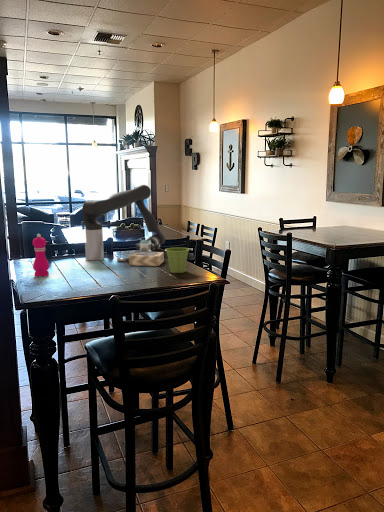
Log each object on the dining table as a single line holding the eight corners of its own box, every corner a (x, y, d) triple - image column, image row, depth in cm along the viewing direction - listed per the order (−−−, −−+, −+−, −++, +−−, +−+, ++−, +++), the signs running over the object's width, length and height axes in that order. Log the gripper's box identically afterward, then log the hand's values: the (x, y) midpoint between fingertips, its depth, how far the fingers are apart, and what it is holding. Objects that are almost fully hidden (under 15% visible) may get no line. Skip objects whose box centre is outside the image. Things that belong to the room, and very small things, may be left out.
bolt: (117, 262, 226) (117, 257, 225) (117, 261, 229) (117, 256, 228) (131, 261, 227) (131, 256, 227) (131, 260, 230) (131, 255, 230)
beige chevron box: (129, 265, 219) (129, 255, 218) (135, 260, 231) (135, 250, 230) (159, 265, 217) (158, 255, 216) (163, 260, 229) (163, 251, 228)
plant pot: (192, 269, 206) (191, 247, 204) (186, 275, 195) (186, 251, 193) (169, 268, 209) (168, 246, 207) (162, 274, 198) (161, 250, 196)
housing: (140, 259, 235) (139, 241, 233) (142, 257, 241) (142, 239, 240) (148, 259, 234) (148, 241, 233) (151, 257, 241) (150, 239, 239)
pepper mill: (45, 273, 201) (42, 232, 198) (52, 275, 196) (49, 233, 193) (31, 275, 196) (27, 233, 193) (37, 278, 191) (34, 235, 188)
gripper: (139, 237, 251) (132, 241, 235) (162, 237, 250) (156, 242, 233) (139, 249, 253) (132, 254, 237) (162, 250, 251) (157, 255, 235)
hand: (144, 248), depth 235 cm, fingers open, 7 cm apart
